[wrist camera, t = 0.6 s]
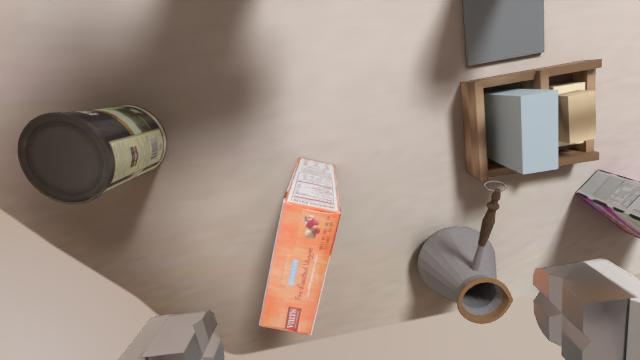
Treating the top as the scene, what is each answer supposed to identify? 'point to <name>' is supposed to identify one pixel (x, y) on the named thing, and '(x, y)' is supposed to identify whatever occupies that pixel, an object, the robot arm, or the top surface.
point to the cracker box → (302, 248)
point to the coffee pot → (466, 268)
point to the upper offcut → (576, 116)
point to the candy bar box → (614, 199)
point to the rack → (528, 80)
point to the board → (522, 129)
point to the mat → (502, 29)
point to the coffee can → (89, 151)
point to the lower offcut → (564, 89)
